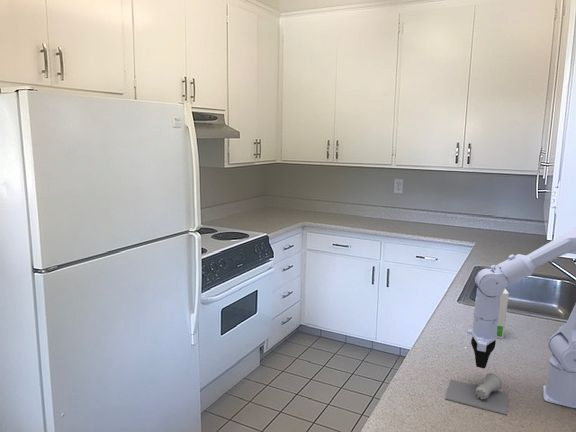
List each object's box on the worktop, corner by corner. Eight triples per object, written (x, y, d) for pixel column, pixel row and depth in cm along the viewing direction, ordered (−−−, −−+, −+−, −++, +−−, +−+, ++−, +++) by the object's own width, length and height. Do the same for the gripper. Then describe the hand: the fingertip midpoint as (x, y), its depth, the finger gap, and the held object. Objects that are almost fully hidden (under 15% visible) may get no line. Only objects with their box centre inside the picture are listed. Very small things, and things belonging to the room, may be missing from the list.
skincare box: (477, 336, 154) (481, 290, 152) (474, 328, 161) (478, 284, 158) (504, 339, 152) (509, 293, 150) (500, 331, 159) (505, 286, 156)
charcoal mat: (508, 394, 119) (508, 393, 119) (506, 415, 110) (507, 414, 110) (450, 380, 126) (450, 379, 126) (444, 399, 116) (444, 398, 116)
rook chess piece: (493, 369, 120) (480, 382, 115) (506, 384, 119) (493, 399, 113) (481, 376, 123) (467, 390, 118) (494, 391, 121) (480, 406, 116)
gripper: (472, 304, 127) (467, 351, 129) (465, 323, 114) (461, 375, 116) (500, 309, 124) (495, 357, 126) (497, 329, 111) (491, 382, 113)
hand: (480, 366), depth 121 cm, fingers closed
